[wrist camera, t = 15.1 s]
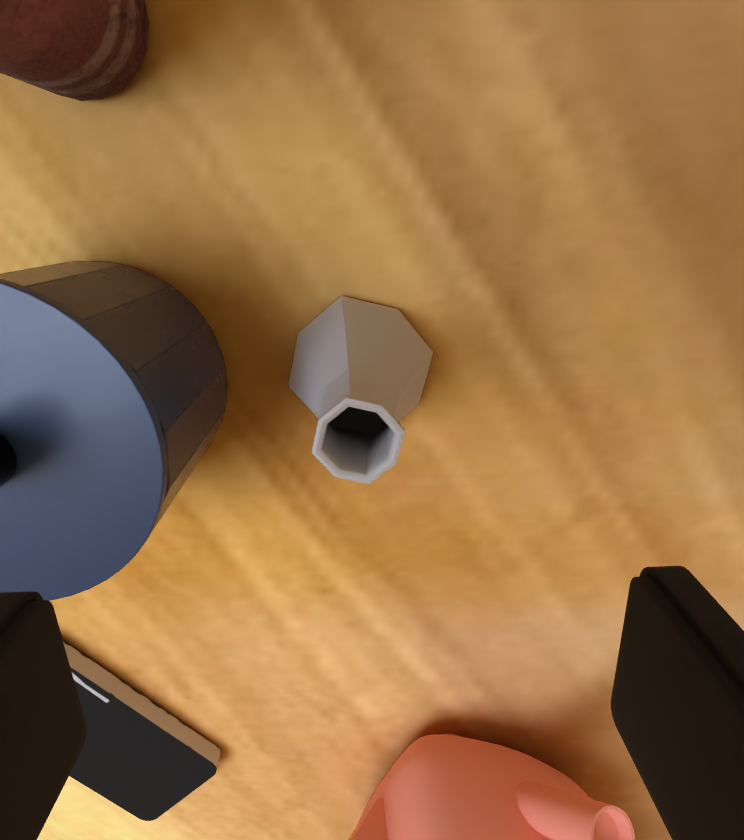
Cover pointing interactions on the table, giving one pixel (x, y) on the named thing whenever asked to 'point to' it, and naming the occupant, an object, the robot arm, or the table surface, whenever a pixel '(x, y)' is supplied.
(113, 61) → the can
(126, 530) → the pot lid
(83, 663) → the smartphone
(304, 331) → the flask
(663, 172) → the table surface
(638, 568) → the table surface
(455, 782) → the teapot
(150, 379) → the pot
